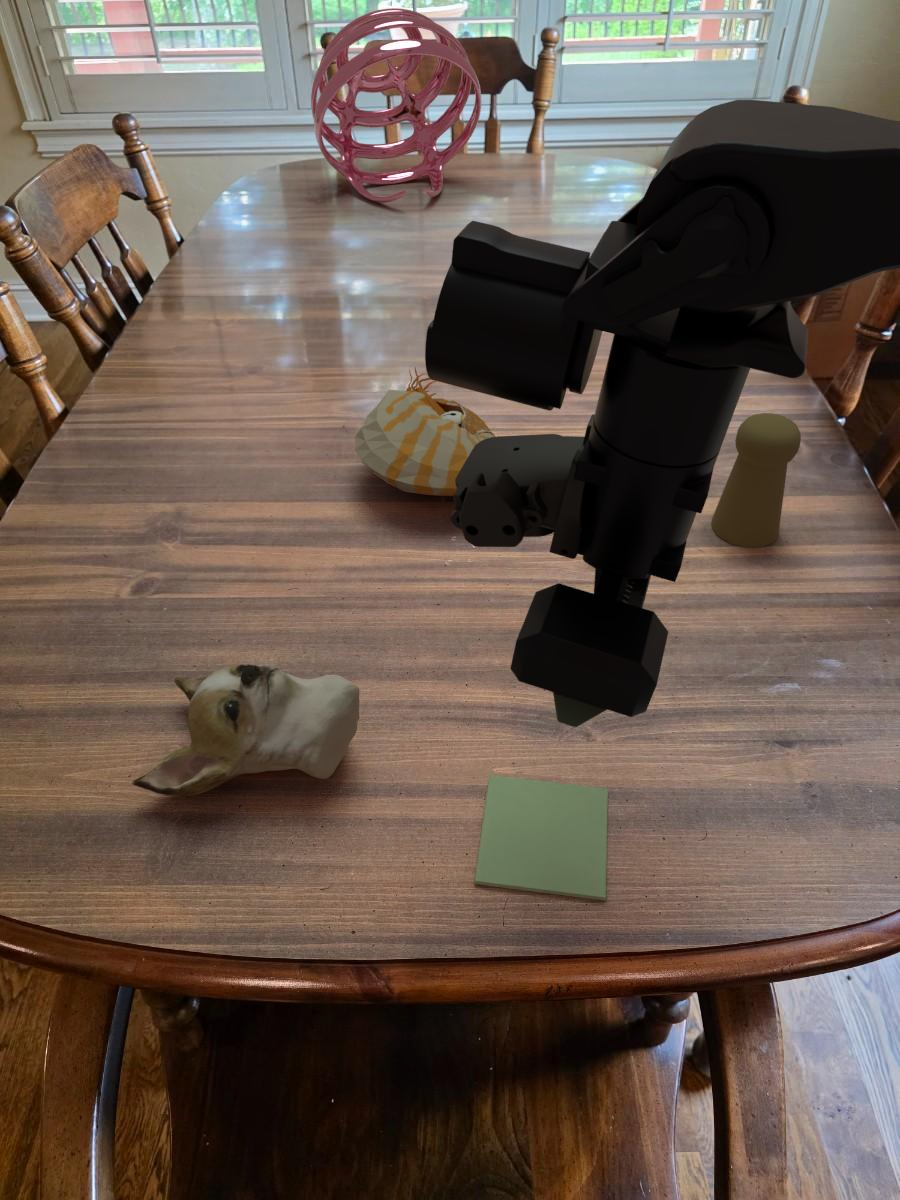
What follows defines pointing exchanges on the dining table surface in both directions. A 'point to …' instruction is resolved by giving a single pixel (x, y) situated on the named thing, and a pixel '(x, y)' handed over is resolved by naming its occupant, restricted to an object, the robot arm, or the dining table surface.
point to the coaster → (544, 838)
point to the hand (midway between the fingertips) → (585, 662)
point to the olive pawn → (757, 481)
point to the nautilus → (419, 440)
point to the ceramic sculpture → (257, 728)
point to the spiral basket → (406, 111)
